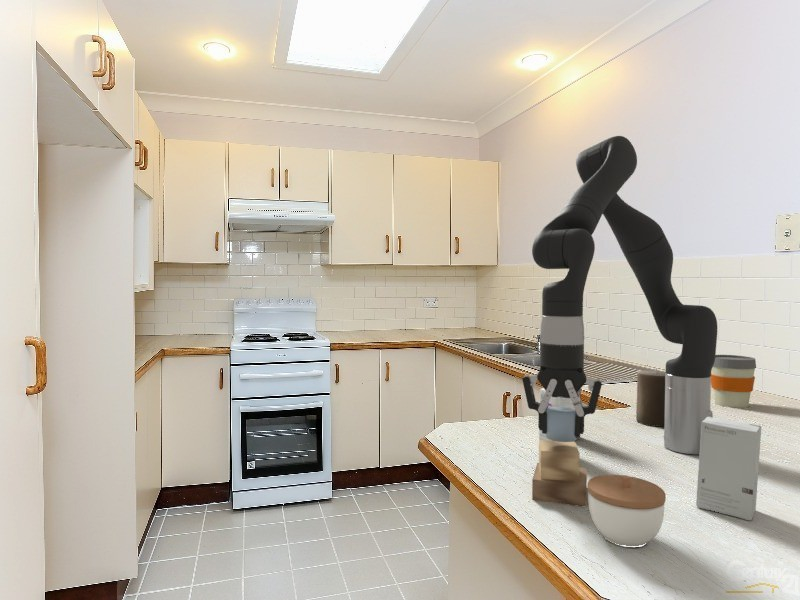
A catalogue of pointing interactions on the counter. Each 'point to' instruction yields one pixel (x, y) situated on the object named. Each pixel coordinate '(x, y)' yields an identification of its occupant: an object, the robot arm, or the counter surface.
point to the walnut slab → (560, 489)
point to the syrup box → (555, 403)
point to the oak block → (559, 460)
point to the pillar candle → (651, 398)
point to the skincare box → (728, 467)
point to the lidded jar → (626, 508)
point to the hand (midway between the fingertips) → (560, 433)
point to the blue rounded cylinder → (561, 424)
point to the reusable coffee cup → (733, 380)
